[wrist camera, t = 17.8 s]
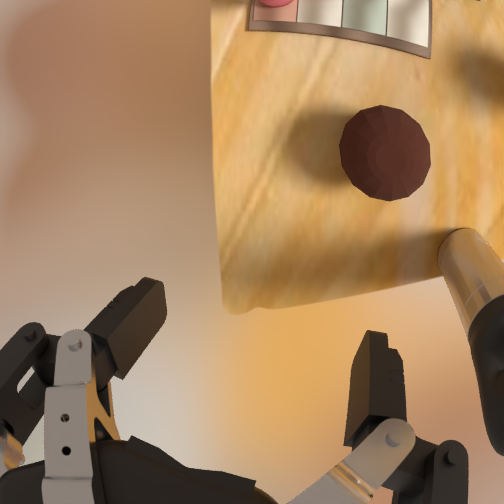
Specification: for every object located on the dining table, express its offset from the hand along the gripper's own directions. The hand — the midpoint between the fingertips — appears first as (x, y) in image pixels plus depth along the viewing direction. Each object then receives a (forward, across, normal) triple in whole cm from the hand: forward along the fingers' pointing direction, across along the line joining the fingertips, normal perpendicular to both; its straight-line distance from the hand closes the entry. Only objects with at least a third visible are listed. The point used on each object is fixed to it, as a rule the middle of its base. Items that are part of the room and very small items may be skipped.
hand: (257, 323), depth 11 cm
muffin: (+34, -8, -3) cm, 35 cm away
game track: (+34, -1, -24) cm, 42 cm away
